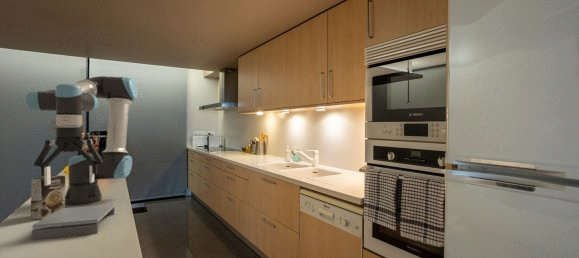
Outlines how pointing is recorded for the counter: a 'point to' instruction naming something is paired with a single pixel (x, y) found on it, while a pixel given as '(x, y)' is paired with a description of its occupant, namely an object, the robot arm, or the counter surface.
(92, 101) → the robot arm
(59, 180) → the coffee box
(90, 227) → the rails
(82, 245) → the counter surface
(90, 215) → the panel
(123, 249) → the counter surface
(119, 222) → the counter surface
